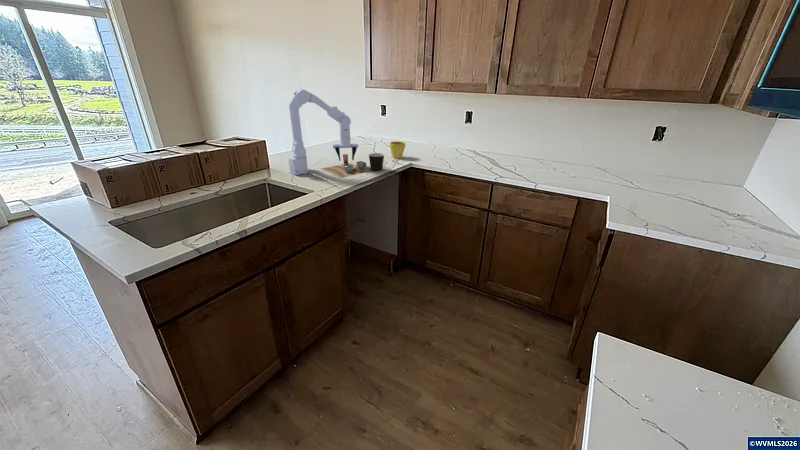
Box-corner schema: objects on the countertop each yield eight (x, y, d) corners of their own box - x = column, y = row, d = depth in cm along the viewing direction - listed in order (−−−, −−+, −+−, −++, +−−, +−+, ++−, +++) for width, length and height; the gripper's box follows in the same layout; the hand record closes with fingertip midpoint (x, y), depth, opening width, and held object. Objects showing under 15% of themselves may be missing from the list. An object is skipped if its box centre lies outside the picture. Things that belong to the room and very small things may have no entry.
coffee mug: (378, 175, 187) (378, 157, 183) (366, 172, 191) (365, 155, 187) (389, 170, 196) (389, 153, 192) (377, 168, 200) (377, 151, 196)
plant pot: (396, 154, 231) (396, 140, 227) (408, 157, 226) (408, 142, 221) (386, 157, 224) (386, 142, 220) (398, 160, 218) (398, 145, 214)
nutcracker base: (341, 180, 177) (340, 169, 175) (320, 171, 192) (319, 161, 189) (371, 173, 190) (370, 163, 187) (349, 165, 204) (348, 155, 202)
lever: (352, 172, 184) (352, 161, 182) (345, 173, 184) (344, 161, 181) (349, 164, 200) (348, 153, 197) (342, 164, 199) (341, 154, 197)
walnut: (355, 172, 186) (355, 166, 184) (351, 171, 188) (351, 164, 187) (360, 171, 188) (360, 165, 187) (357, 169, 191) (356, 163, 189)
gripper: (357, 135, 196) (357, 158, 202) (332, 135, 194) (333, 158, 199) (358, 137, 190) (359, 161, 196) (332, 138, 187) (334, 161, 193)
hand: (346, 160), depth 197 cm, fingers open, 7 cm apart
